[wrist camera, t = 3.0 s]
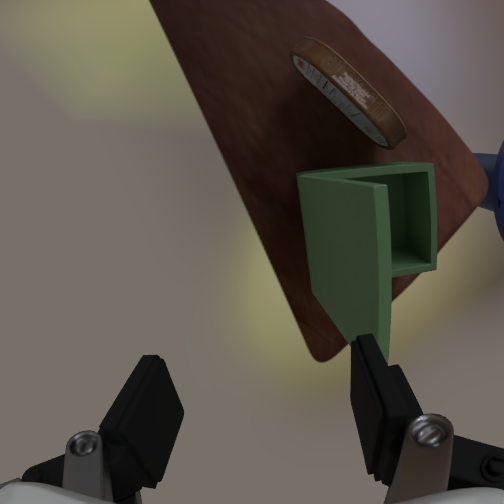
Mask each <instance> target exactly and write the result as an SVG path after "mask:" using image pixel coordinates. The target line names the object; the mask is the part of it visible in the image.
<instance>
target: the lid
mask: <svg viewBox="0 0 504 504" xmlns="http://www.w3.org/2000/svg"><path fill="white" fill-rule="evenodd" d="M298 183H299V190H300V197H301V204H302V212H303V219H304V227H305V235H306V243H307V252H308V260H309V270H310V279H311V289H312V293H313V295H314V296H315V297H316V299H317V300H318V301H319V303H320V304H321V306H322V307H323V308H324V310H325V311H326V313H327V314H328V315H329V317H330V318H331V320H332V321H333V322H334V324H335V325H336V327H337V328H338V329H339V331H340V332H341V334H342V335H343V336H344V338H345V339H346V341H347V342H348V344H349V345H350V346H351V341H353V340H356V336H358V335H364V334H369V333H372V334H373V335H374V337H375V339H376V342H377V344H378V346H379V348H380V350H381V352H382V354H383V356H384V358H385V360H386V362H387V364H388V356H389V343H390V324H391V292H392V267H391V234H390V216H389V202H388V190H387V185H385V184H378V183H370V182H363V181H355V180H346V179H337V178H328V177H318V176H308V175H304V176H298Z"/></svg>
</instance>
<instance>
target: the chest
mask: <svg viewBox="0 0 504 504" xmlns="http://www.w3.org/2000/svg"><path fill="white" fill-rule="evenodd" d="M304 175H308V176H318V177H328V178H337V179H346V180H355V181H363V182H370V183H378V184H385V185H387V190H388V202H389V216H390V234H391V267H392V278H393V277H399V276H405V275H410V274H416V273H422V272H427V271H432V270H436V267H437V266H436V265H437V206H436V187H435V174H434V164H433V163H423V162H406V161H402V162H389V163H377V164H365V165H355V166H345V167H336V168H327V169H318V170H310V171H302V172H296V178H297V184H298V191H299V198H300V206H301V213H302V221H303V228H304V236H305V244H306V253H307V262H308V266H309V260H308V252H307V243H306V235H305V227H304V219H303V212H302V204H301V197H300V190H299V183H298V176H304Z"/></svg>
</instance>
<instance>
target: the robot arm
mask: <svg viewBox="0 0 504 504" xmlns="http://www.w3.org/2000/svg"><path fill="white" fill-rule="evenodd" d="M350 398H351V405H352V409H353V413H354V417H355V421H356V425H357V429H358V433H359V437H360V442H361V446H362V450H363V454H364V459H365V464H366V468H367V473H368V474H369V475H370V474H374V478H375V481H380V480H381V481H382V484H385V485H387V486H389V488H388V491H387V495H386V498H385V501H384V504H504V449H503V448H500V447H496V446H492V445H488V444H484V443H481V442H477V441H474V440H470V439H467V438H463V437H460V436H456V435H454V430H453V425H452V424H451V422H450V421H449V420H448V419H447V418H446V417H444V416H442V415H439V414H423V412H422V410H421V408H420V405H419V403H418V401H417V399H416V397H415V395H414V393H413V391H412V389H411V387H410V385H409V383H408V382H407V379H406V377H405V375H404V373H403V371H402V369H401V368H400V366H399V365H398V364H396V365H392V366H388V364H387V362H386V360H385V358H384V356H383V354H382V352H381V350H380V348H379V346H378V344H377V342H376V339H375V337H374V335H373V334H372V333H369V334H364V335H358V336H356V340H353V341H351V390H350ZM183 416H184V409H183V406H182V404H181V402H180V399H179V397H178V394H177V392H176V390H175V387H174V384H173V382H172V379H171V377H170V374H169V371H168V369H167V366H166V363H165V361H164V360H163V359H160V357H159V356H158V355H143V356H142V358H141V359H140V361H139V362H138V364H137V366H136V367H135V369H134V370H133V372H132V374H131V375H130V377H129V378H128V380H127V381H126V383H125V385H124V386H123V388H122V390H121V391H120V393H119V394H118V396H117V398H116V399H115V401H114V403H113V405H112V406H111V408H110V409H109V411H108V413H107V414H106V416H105V418H104V419H103V421H102V422H101V424H100V426H99V427H100V429H99V431H98V433H96V432H94V431H90V430H89V431H82V432H79V433H77V434H75V435H74V436H72V437H71V438H70V439H69V441H68V442H67V445H66V452H65V454H63V455H61V456H58V457H56V458H53V459H51V460H48V461H46V462H43V463H40V464H38V465H35V466H32V467H30V468H29V469H28V470H26V471H25V473H24V474H23V476H22V479H20V478H16V479H13V480H11V481H8V482H5V483H3V484H0V504H142V500H141V494H140V490H141V489H142V487H147V488H153V489H155V488H156V485H157V483H158V482H161V480H162V479H163V476H164V473H165V469H166V467H167V464H168V460H169V458H170V455H171V452H172V449H173V446H174V443H175V440H176V437H177V434H178V432H179V429H180V426H181V423H182V420H183Z"/></svg>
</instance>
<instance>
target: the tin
mask: <svg viewBox="0 0 504 504" xmlns="http://www.w3.org/2000/svg"><path fill="white" fill-rule="evenodd" d="M290 57H291V61H292V63H293V64H294V66H295V67H296V68H297V69H298V71H299V72H300V73H301V74H302V75H303V76H304V77H305V78H306V79H307V80H308V81H309V82H310V83H311V84H312V85H313V86H315V87H316V88H317V89H318V90H319V91H320V92H321V93H322V94H323V95H324V96H325V97H326V98H327V99H328V100H329V101H330V102H331V103H332V104H333V105H335V106H336V107H337V108H338V109H339V110H340V111H341V112H342V113H343V114H344V115H345V116H346V117H347V118H348V119H349V120H350V121H351V122H352V123H353V124H354V125H355V126H356V127H357V128H358V129H359V130H360V131H361V132H362V133H363V134H364V135H365V136H367V137H368V138H369V139H370V140H371V141H372V142H374V143H375V144H376V145H378V146H379V147H381V148H385V149H388V150H392V149H394V148H395V147H396V146H397V145H398V144H399V143H400V142H401V141H402V140H403V139H405V138H406V137H407V129H406V127H405V125H404V123H403V121H402V120H401V118H400V117H399V115H398V114H397V113H396V111H395V110H394V109H393V108H392V107H391V106H390V104H389V103H388V102H387V101H386V100H385V99H384V98H383V97H382V96H381V95H380V94H379V93H378V92H377V91H376V90H375V89H374V88H373V87H372V86H371V85H370V84H369V83H368V82H367V81H366V80H365V79H364V78H363V77H362V76H361V75H360V74H359V73H358V72H357V71H356V70H355V69H354V68H353V67H352V66H351V65H350V64H349V63H347V62H346V61H345V60H344V59H343V58H342V57H341V56H340V55H339V54H338V53H336V52H335V51H334V50H333V49H332V48H330V47H329V46H327V45H326V44H324V43H323V42H321V41H319V40H317V39H315V38H313V37H309V36H305V37H303V38H302V39H301V41H300V42H299V43H297V44H296V45H295V46H294V47H293V48H292V49H291V50H290Z"/></svg>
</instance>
